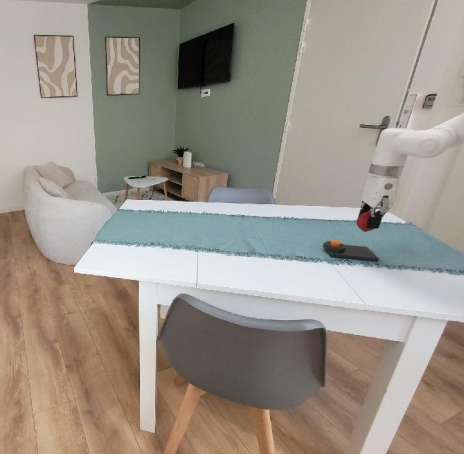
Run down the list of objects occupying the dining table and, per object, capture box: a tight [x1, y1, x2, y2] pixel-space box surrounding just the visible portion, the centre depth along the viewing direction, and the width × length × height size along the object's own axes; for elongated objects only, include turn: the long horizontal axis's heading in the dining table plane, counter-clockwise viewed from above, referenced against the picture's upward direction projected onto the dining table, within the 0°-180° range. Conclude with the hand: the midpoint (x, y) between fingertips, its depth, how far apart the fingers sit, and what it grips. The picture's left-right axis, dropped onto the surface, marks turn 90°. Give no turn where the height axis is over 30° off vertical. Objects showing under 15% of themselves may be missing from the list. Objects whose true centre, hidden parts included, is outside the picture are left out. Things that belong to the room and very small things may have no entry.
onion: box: [356, 209, 375, 233], centre depth 96 cm, size 6×6×8 cm
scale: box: [322, 240, 379, 263], centre depth 102 cm, size 14×9×3 cm, turn 70°
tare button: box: [330, 239, 342, 247], centre depth 102 cm, size 3×3×2 cm
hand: (367, 223), depth 97 cm, fingers closed on onion, 5 cm apart
